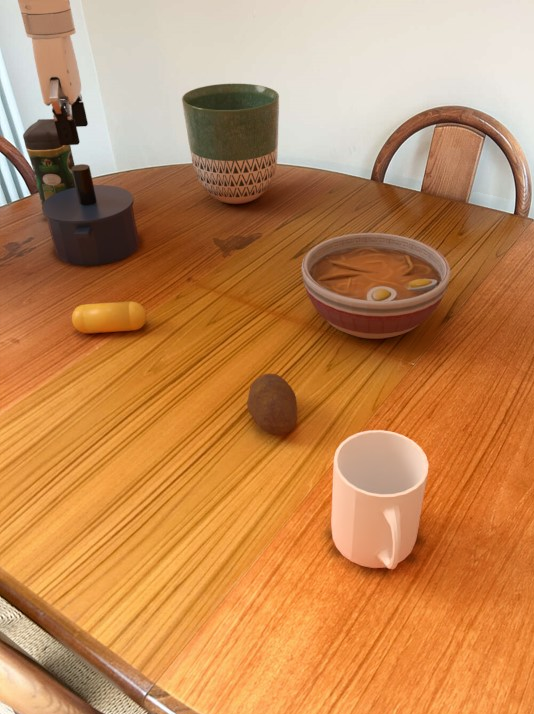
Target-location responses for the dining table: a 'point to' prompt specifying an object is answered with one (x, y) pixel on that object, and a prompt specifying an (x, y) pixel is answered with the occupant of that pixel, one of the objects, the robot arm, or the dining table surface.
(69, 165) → the coffee jar
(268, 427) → the potato
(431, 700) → the dining table surface
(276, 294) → the dining table surface
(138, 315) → the yellow capsule
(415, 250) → the bowl
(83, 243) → the pot
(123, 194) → the lid
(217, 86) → the planter
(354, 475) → the mug
